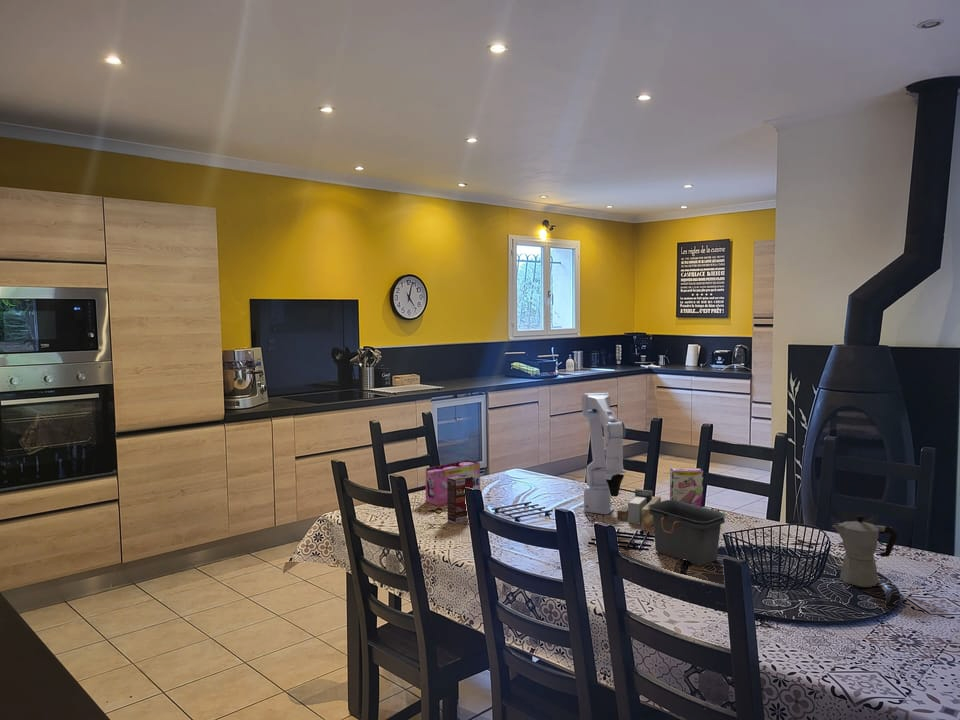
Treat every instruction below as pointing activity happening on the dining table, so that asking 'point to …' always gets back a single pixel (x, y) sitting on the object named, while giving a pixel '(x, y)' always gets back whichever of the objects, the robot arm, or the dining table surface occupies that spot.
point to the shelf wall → (648, 514)
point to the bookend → (644, 494)
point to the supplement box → (457, 498)
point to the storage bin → (686, 531)
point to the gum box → (439, 475)
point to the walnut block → (622, 513)
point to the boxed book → (636, 509)
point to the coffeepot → (862, 550)
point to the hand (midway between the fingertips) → (614, 495)
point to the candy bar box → (687, 485)
